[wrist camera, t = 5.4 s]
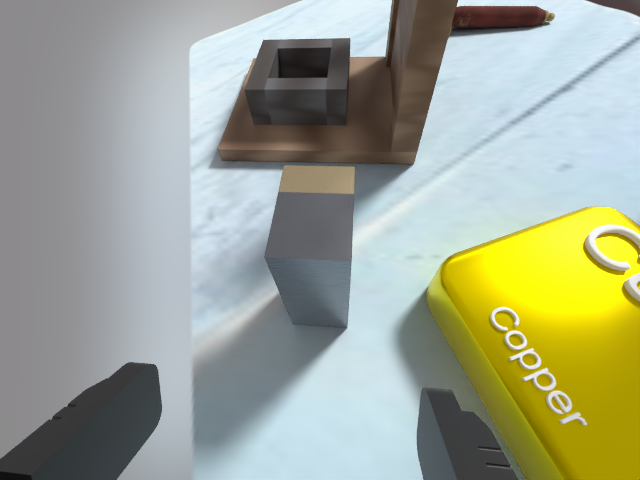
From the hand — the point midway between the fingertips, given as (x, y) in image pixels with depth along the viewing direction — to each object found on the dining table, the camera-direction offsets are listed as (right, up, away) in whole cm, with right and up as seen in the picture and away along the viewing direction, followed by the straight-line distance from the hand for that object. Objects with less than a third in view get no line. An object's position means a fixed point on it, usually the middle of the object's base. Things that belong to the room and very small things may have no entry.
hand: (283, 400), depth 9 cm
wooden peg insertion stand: (+1, +20, +27) cm, 34 cm away
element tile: (+18, -3, +12) cm, 22 cm away
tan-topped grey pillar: (+1, +1, +15) cm, 15 cm away
